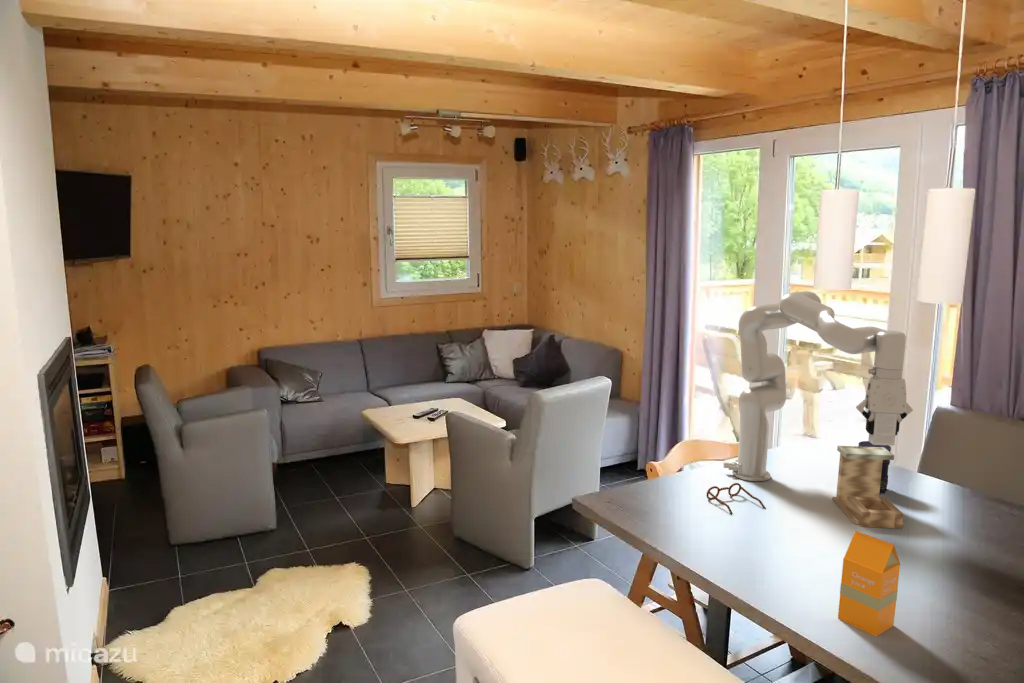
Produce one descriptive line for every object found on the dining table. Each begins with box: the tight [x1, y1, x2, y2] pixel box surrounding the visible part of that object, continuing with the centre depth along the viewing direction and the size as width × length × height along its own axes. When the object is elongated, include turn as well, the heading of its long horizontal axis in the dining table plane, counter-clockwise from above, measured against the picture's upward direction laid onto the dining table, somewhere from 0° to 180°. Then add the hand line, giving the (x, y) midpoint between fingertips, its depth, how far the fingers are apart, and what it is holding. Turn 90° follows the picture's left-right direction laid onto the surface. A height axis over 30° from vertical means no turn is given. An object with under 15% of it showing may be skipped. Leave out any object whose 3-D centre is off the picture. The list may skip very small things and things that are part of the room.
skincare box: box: [867, 413, 897, 446], centre depth 212 cm, size 6×4×12 cm
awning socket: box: [831, 445, 905, 529], centre depth 220 cm, size 14×21×18 cm
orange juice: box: [837, 530, 901, 637], centre depth 160 cm, size 8×9×20 cm
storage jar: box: [857, 440, 892, 495], centre depth 241 cm, size 10×10×15 cm
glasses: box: [706, 482, 767, 515], centre depth 227 cm, size 13×13×5 cm
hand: (881, 433), depth 213 cm, fingers closed on skincare box, 6 cm apart
